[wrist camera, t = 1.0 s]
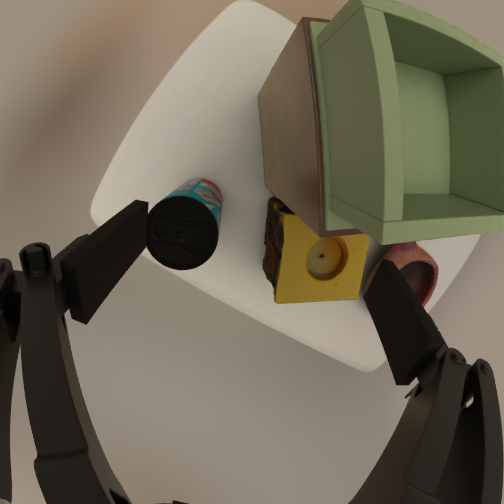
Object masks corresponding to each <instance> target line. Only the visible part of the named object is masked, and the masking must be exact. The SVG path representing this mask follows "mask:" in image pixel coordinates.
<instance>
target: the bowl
mask: <svg viewBox="0 0 504 504" xmlns="http://www.w3.org/2000/svg"><path fill="white" fill-rule="evenodd" d="M382 258H383V259H387V260H390V261H393V262H394V263H395V265H396V266H397V268H398V269H399V271H400V272H401V274H402V275H403V276H404V278H405V279H406V281H407V282H408V284H409V285H410V287H411V288H412V290H413V292H414V293H415V295H416V296H417V298H418V299H419V301H420V303H421V304H422V306H423V307H424V306H425V305H426V303H427V302H428V301H429V299H430V297H431V295H432V293H433V291H434V289H435V287H436V283H437V279H438V266H437V264H436V262H435V261H434V260H433V258H432V257H431V256H430V255H429V254H428V253H427V252H426V251H425V250H423V249H422V248H421V247H419V246H418V245H417V244H416V241H414V242H405V243H397V244H391V245H390V247H389V249H388V251H387V252H386V253H385V255H384V256H383V257H382ZM381 261H382V259H381V260H380V261H379V262H378V263H377V264H376V266H375V267H374V268H373V270H372V271H371V273H370V275H369V277H368V279H367V282H366V285H365V293H366V291H367V289H368V287H369V285H370V283H371V281H372V279H373V277H374V275H375V273H376V271H377V269H378V267H379V265H380V263H381ZM367 308H368V307H367Z"/></svg>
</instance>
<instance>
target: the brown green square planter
mask: <svg viewBox="0 0 504 504" xmlns="http://www.w3.org/2000/svg"><path fill="white" fill-rule="evenodd" d="M310 21H314V22H323V23H329V22H330V21H331V20H326V19H319V18H309V17H302V19H301V20H300V22H299V23H298V25H297V27H296V28H295V30H294V32H293V33H292V35H291V37H290V38H289V40H288V42H287V44H286V45H285V47H284V49H283V50H282V52H281V54H280V56H279V58H278V59H277V61H276V63H275V65H274V66H273V68H272V70H271V72H270V74H269V76H268V77H267V79H266V81H265V83H264V85H263V87H262V89H261V91H260V92H259V94H258V104H259V115H260V127H261V139H262V152H263V165H264V178H265V186H266V187H267V188H268V189H269V190H270V191H271V192H272V193H273V194H275V195H276V196H277V197H278V198H279V199H280V200H281V201H282V202H283V203H284V204H285V205H286V206H287V207H289V208H290V209H291V210H292V211H293V212H294V213H295V214H296V215H297V216H298V217H299V218H300V219H301V220H302V221H303V222H304V223H305V224H306V225H307V226H309V227H310V228H311V229H312V230H313V231H314V232H315V233H316V234H317V235H318V236H319V237H320V238H324V237H335V236H345V235H355V234H365V233H363V232H362V231H360V230H359V229H357V228H352V229H341V230H329V231H327V230H326V229H325V208H324V172H323V151H322V136H321V122H320V110H319V100H318V90H317V81H316V73H315V65H314V57H313V50H312V43H311V37H310V31H309V25H308V24H309V22H310Z"/></svg>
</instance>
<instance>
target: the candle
mask: <svg viewBox="0 0 504 504" xmlns="http://www.w3.org/2000/svg"><path fill="white" fill-rule="evenodd" d="M264 239H265V241H264V244H265V245H267V249H266V253H265V257H264V259H263V270H264V272H265V274H266V277H267V279H268V280H269V281H270V282H271V284H272V286H273V288H274V292H273V293H274V301H275V303H277V304H283V303H301V302H315V301H334V300H354V299H357V297H358V294H359V290H360V285H361V281H362V275H363V270H364V265H365V260H366V256H367V251H368V247H369V242H370V237H369V236H368V235H366V234H355V235H345V236H335V237H324V238H320V237H319V236H318V235H317V234H316V233H315V232H314V231H313V230H312V229H311V228H310V227H309V226H307V225H306V224H305V223H304V222H303V221H302V220H301V219H300V218H299V217H298V216H297V215H296V214H295V213H294V212H293V211H292V210H291V209H290V208H289V207H287V206H286V205H285V204H284V203H283V202H282V201H281V200H280V199H278V198H275V197H272V198H270V199H269V201H268V211H267V218H266V231H265V238H264Z"/></svg>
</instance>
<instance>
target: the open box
mask: <svg viewBox="0 0 504 504" xmlns="http://www.w3.org/2000/svg"><path fill="white" fill-rule="evenodd" d="M308 25H309V31H310V37H311V43H312V50H313V57H314V65H315V73H316V81H317V90H318V100H319V110H320V122H321V136H322V151H323V172H324V208H325V229H326V230H327V231H329V230H341V229H352V228H357V229H359V230H360V231H362V232H363V233H365V234H366V235H368V236H369V237H371V238H372V239H374V240H375V241H377V242H378V243H380V244H381V245H388V244H397V243H405V242H414V241H422V240H430V239H439V238H447V237H455V236H463V235H471V234H479V233H487V232H495V231H503V230H504V57H503V56H502V55H501V54H499V53H498V52H496V51H495V50H493V49H492V48H490V47H489V46H487V45H486V44H484V43H482V42H481V41H479V40H478V39H476V38H475V37H473V36H471V35H469V34H468V33H466V32H464V31H462V30H460V29H459V28H457V27H455V26H453V25H451V24H449V23H447V22H445V21H443V20H441V19H439V18H437V17H434V16H432V15H430V14H428V13H425V12H423V11H420V10H418V9H416V8H413V7H410V6H408V5H405V4H402V3H400V2H397V1H394V0H349V1H348V3H346V5H345V6H344V7H343V8H342V9H341V10H340V11H339V12H338V13H337V14H336V15H335V17H334V18H333V19H332V20H331V21H330V22H329V23H323V22H314V21H310V22H309V24H308Z"/></svg>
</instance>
